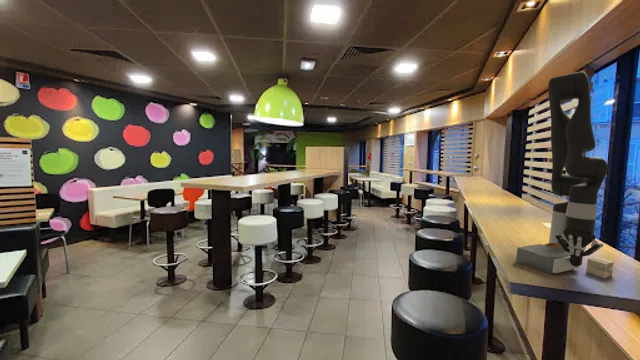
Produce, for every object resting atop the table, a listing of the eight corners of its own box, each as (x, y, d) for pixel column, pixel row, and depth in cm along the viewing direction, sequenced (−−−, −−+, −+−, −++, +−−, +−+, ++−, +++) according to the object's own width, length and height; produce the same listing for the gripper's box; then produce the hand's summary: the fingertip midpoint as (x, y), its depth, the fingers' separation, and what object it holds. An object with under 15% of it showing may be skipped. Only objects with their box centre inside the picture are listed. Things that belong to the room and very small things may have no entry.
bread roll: (555, 271, 112) (567, 256, 108) (530, 252, 120) (542, 237, 116) (569, 268, 116) (582, 253, 112) (545, 249, 124) (556, 235, 120)
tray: (542, 256, 115) (543, 244, 115) (582, 269, 103) (583, 256, 103) (519, 260, 110) (520, 248, 109) (558, 274, 98) (560, 261, 97)
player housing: (538, 257, 116) (540, 243, 116) (574, 269, 105) (576, 254, 105) (515, 261, 111) (517, 247, 110) (551, 274, 100) (553, 258, 99)
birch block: (593, 270, 105) (595, 257, 104) (611, 276, 100) (613, 262, 100) (586, 272, 103) (587, 258, 102) (604, 278, 98) (606, 264, 98)
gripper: (612, 219, 93) (606, 271, 95) (564, 211, 105) (559, 258, 107) (599, 221, 90) (593, 274, 92) (551, 212, 102) (547, 260, 104)
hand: (575, 265), depth 99 cm, fingers closed
